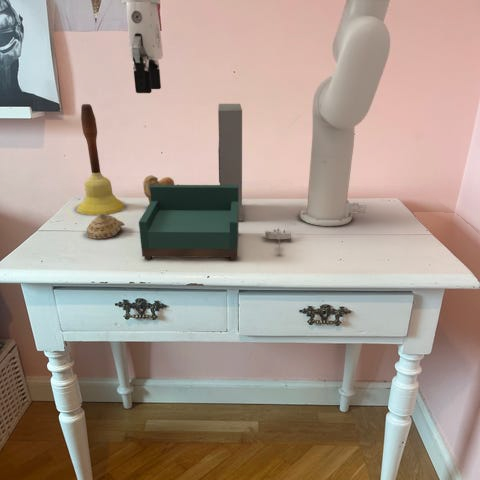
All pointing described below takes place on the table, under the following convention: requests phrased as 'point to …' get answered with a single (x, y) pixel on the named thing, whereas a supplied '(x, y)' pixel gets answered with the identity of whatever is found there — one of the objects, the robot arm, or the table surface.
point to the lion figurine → (154, 181)
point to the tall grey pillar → (230, 147)
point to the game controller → (277, 235)
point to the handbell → (96, 174)
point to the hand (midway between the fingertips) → (149, 90)
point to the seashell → (103, 227)
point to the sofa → (191, 221)
